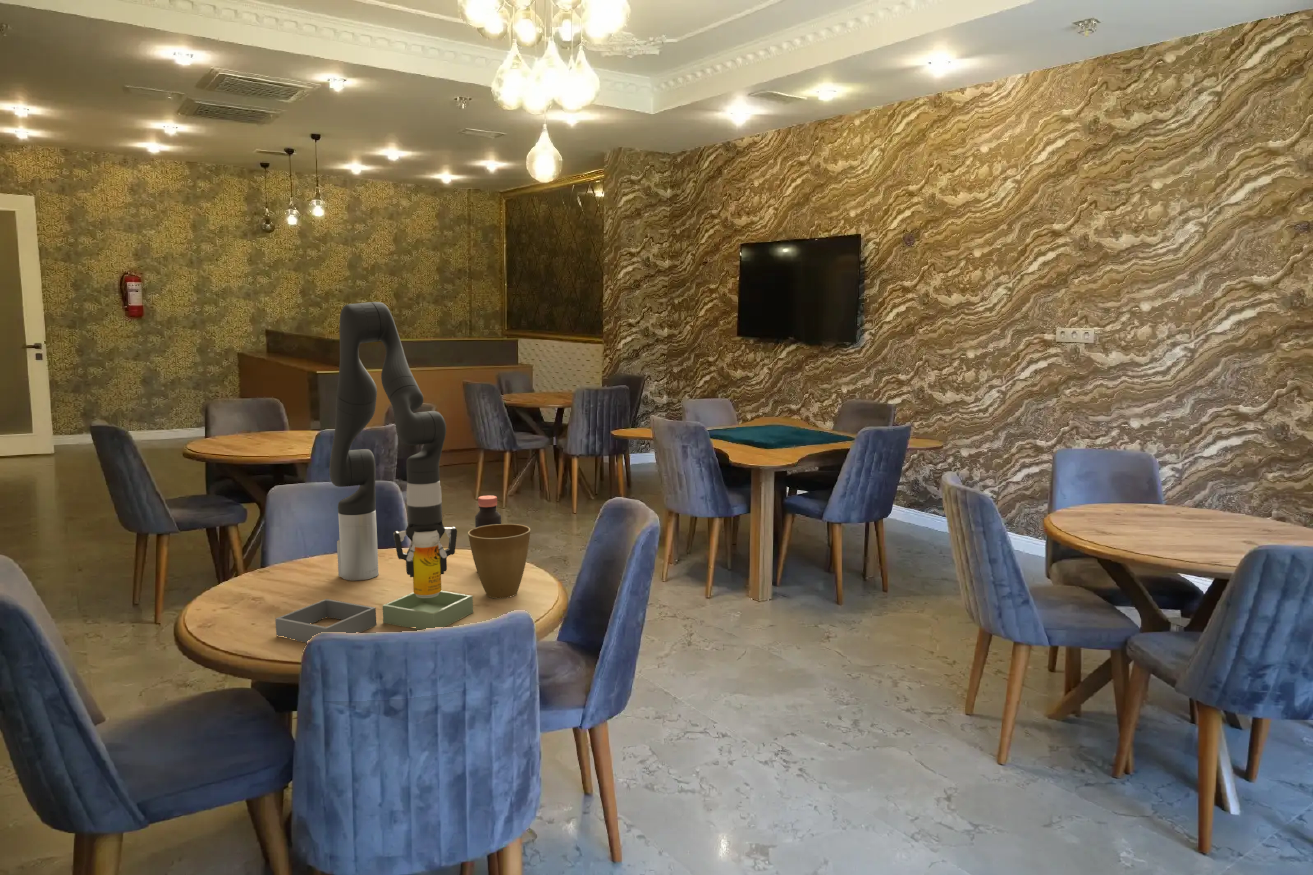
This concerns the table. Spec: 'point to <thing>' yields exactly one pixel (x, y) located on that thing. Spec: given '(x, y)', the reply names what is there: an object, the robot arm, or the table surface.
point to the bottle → (487, 511)
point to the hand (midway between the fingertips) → (426, 574)
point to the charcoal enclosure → (350, 614)
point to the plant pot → (500, 557)
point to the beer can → (426, 564)
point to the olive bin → (427, 610)
